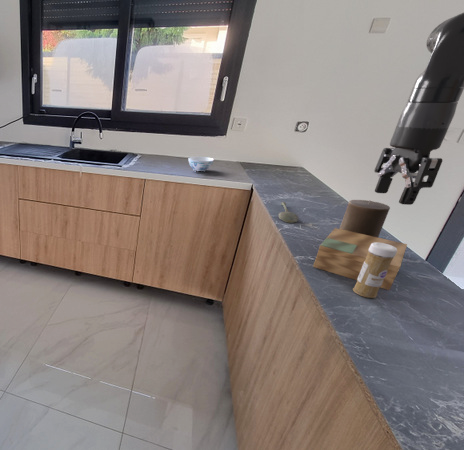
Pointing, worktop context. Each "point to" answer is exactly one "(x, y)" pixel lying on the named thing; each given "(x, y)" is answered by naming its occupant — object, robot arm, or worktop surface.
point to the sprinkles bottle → (374, 269)
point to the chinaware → (200, 163)
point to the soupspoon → (288, 215)
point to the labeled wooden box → (354, 255)
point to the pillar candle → (365, 217)
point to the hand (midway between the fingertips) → (392, 198)
